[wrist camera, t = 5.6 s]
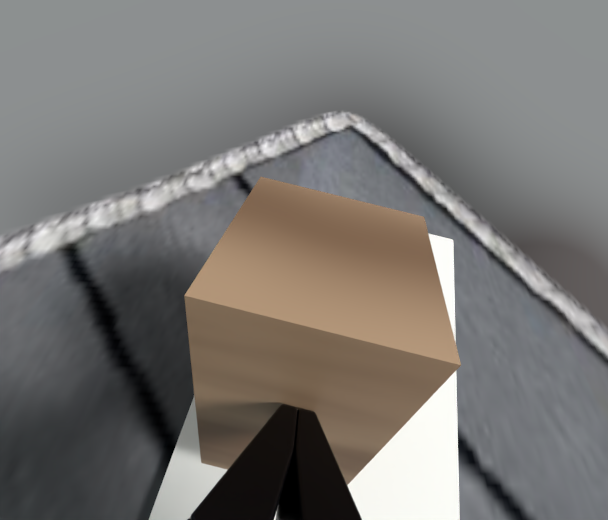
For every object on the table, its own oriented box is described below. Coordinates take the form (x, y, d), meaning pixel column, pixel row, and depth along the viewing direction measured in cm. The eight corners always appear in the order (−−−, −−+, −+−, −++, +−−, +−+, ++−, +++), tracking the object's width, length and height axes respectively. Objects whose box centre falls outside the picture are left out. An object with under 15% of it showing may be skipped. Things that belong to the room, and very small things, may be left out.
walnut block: (335, 497, 11) (461, 365, 5) (201, 463, 11) (184, 295, 6) (344, 372, 15) (424, 217, 9) (244, 347, 15) (260, 176, 9)
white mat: (455, 653, 11) (462, 661, 11) (133, 568, 11) (128, 574, 11) (449, 243, 20) (453, 239, 20) (268, 199, 20) (268, 194, 20)
